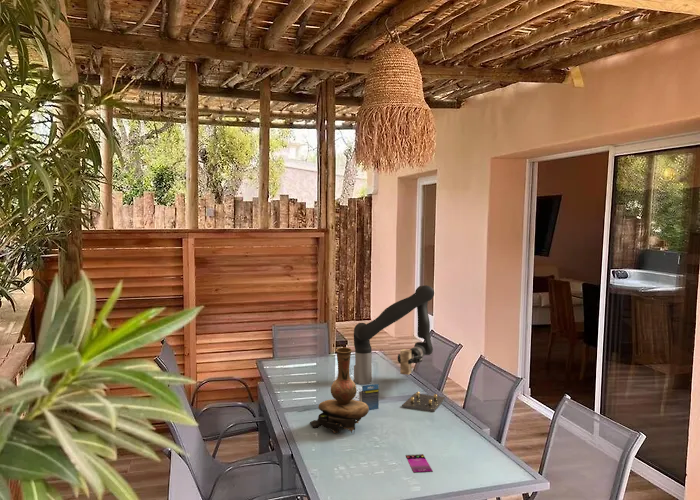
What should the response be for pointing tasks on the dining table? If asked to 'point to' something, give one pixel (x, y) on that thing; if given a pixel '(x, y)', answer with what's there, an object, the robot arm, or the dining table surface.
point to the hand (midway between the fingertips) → (404, 361)
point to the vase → (341, 399)
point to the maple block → (405, 361)
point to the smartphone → (418, 463)
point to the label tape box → (370, 396)
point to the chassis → (423, 402)
